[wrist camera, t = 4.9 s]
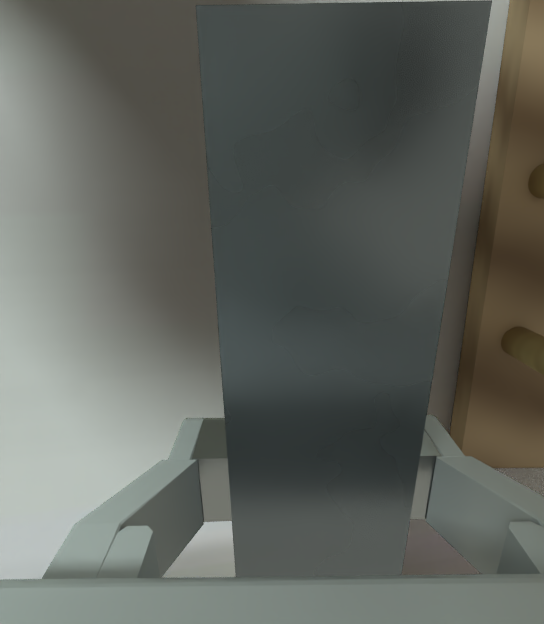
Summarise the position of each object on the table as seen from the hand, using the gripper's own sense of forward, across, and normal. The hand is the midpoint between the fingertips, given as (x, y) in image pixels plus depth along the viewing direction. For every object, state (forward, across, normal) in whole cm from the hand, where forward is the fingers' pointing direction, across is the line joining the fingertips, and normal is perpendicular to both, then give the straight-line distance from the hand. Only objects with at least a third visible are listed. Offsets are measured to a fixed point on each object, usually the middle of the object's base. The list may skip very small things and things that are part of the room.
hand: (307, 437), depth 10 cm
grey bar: (+2, 0, +2) cm, 3 cm away
